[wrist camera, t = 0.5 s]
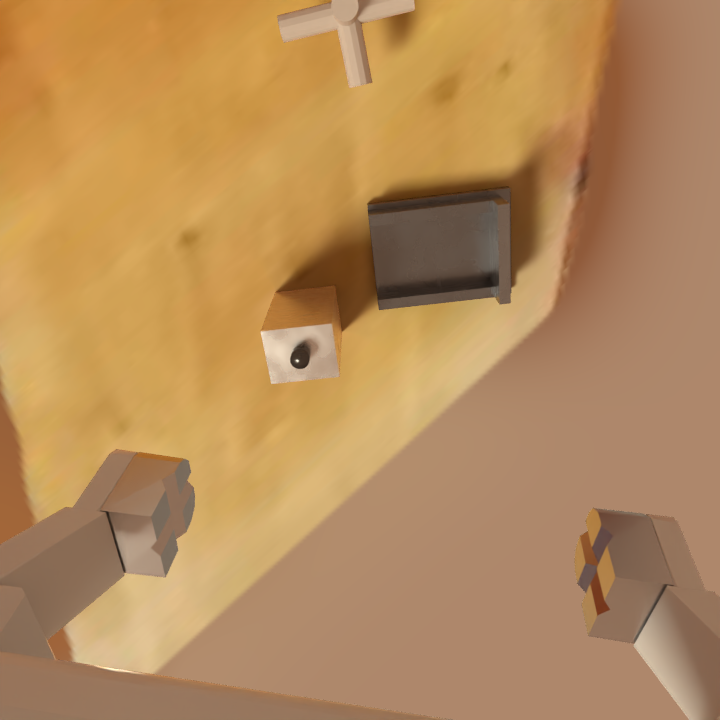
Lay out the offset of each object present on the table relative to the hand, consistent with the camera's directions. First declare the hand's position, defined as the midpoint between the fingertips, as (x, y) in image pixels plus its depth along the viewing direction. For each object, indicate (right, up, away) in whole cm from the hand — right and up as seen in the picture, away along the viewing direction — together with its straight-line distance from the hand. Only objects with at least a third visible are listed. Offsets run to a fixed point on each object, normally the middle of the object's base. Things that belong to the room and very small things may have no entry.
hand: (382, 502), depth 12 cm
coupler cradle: (+7, +14, +45) cm, 47 cm away
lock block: (-6, +8, +48) cm, 49 cm away
